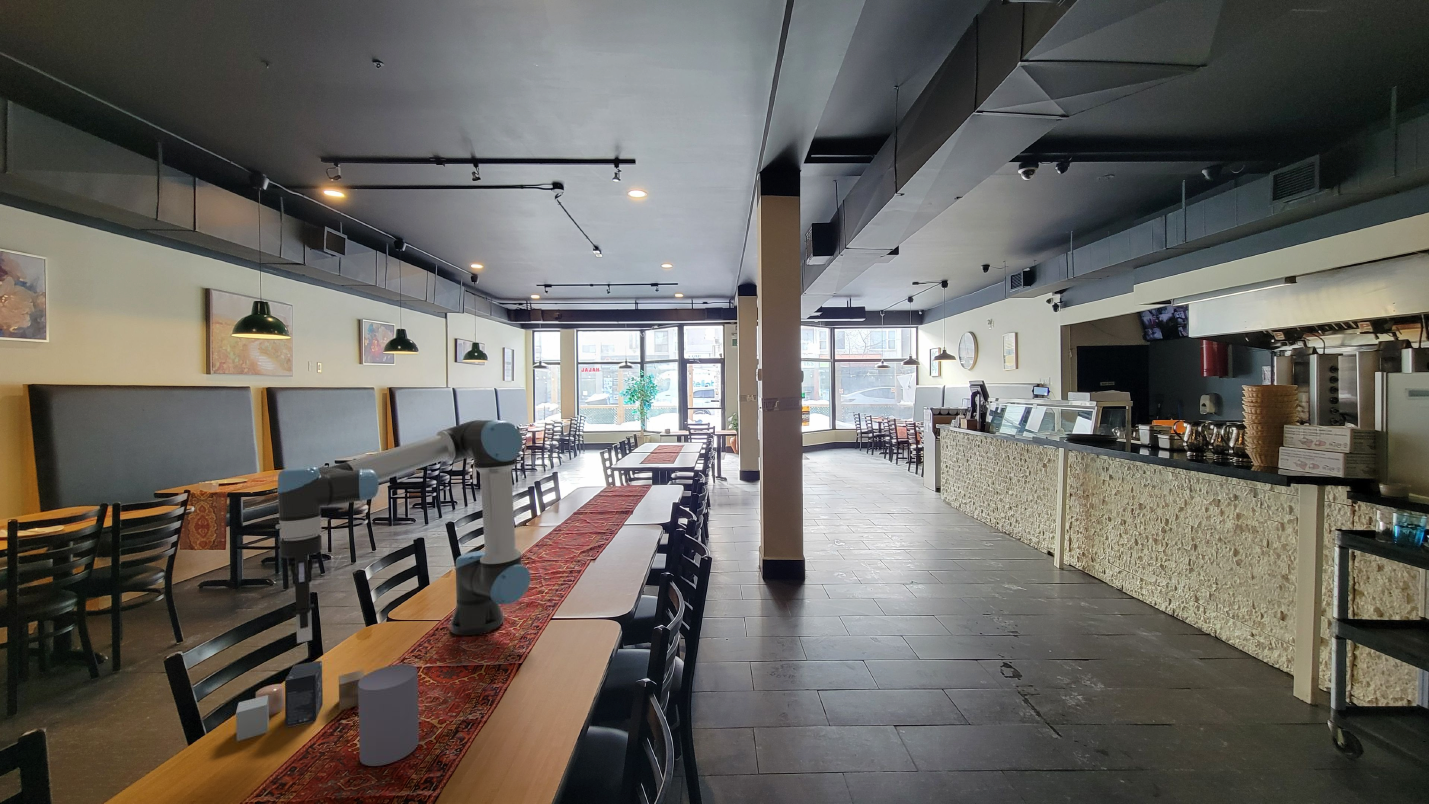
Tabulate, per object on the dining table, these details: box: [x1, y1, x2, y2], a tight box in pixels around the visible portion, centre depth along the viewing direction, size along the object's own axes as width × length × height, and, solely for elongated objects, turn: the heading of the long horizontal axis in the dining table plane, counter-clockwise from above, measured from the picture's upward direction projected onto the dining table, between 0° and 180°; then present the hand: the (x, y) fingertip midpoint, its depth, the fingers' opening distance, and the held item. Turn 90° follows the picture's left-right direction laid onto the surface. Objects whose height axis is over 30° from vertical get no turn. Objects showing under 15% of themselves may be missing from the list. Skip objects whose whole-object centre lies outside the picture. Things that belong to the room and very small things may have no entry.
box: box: [284, 660, 324, 728], centre depth 124 cm, size 8×6×11 cm
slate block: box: [235, 695, 270, 742], centre depth 119 cm, size 5×5×6 cm
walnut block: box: [338, 669, 365, 711], centre depth 130 cm, size 5×5×6 cm
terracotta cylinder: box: [255, 683, 285, 717], centre depth 126 cm, size 5×5×5 cm
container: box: [358, 663, 420, 767], centre depth 111 cm, size 10×10×15 cm
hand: (304, 640), depth 124 cm, fingers closed
